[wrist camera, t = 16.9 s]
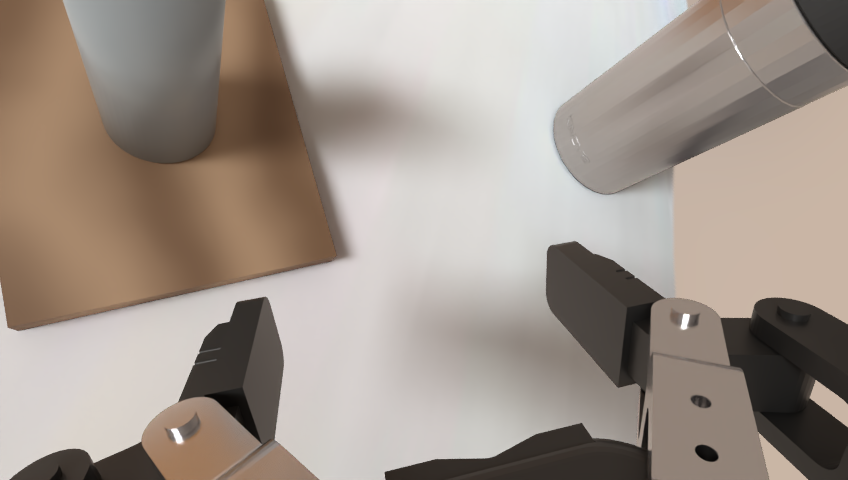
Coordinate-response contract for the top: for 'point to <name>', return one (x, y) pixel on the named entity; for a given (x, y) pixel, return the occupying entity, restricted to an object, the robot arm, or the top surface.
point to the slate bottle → (153, 71)
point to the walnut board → (144, 180)
